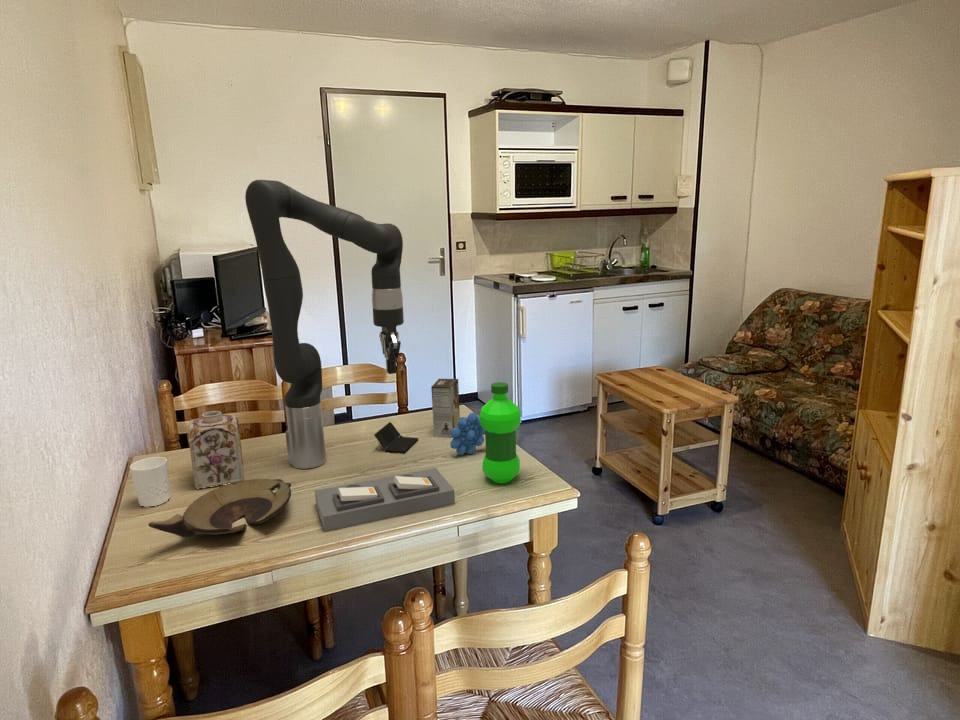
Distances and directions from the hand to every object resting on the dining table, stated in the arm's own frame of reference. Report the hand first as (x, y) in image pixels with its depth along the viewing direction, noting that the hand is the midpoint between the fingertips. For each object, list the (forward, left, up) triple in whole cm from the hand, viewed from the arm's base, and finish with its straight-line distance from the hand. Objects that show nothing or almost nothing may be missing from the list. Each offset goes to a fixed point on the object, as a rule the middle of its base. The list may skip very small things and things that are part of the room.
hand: (391, 372), depth 155 cm
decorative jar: (-42, -20, -27) cm, 54 cm away
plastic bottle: (+28, +4, -27) cm, 39 cm away
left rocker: (+4, -24, -22) cm, 33 cm away
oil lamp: (-22, -38, -27) cm, 51 cm away
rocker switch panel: (+7, -18, -27) cm, 33 cm away
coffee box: (0, +30, -27) cm, 40 cm away
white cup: (-47, -36, -27) cm, 65 cm away
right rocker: (+13, -15, -22) cm, 30 cm away
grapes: (+13, +17, -27) cm, 34 cm away
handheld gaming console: (-9, +15, -27) cm, 32 cm away
